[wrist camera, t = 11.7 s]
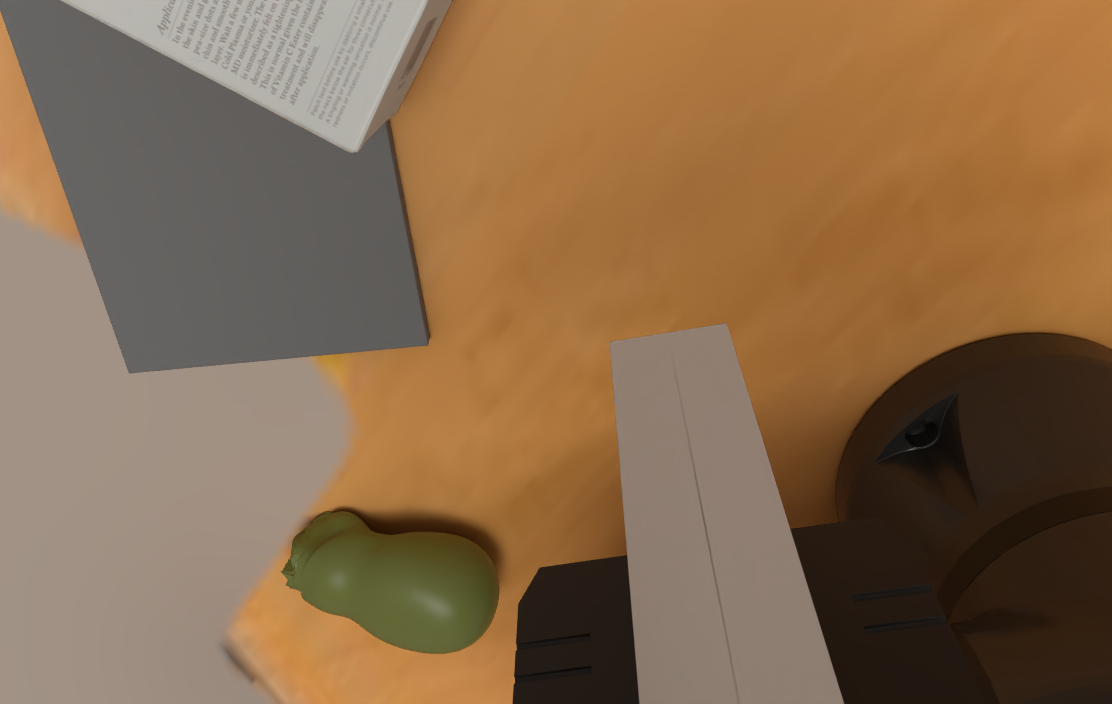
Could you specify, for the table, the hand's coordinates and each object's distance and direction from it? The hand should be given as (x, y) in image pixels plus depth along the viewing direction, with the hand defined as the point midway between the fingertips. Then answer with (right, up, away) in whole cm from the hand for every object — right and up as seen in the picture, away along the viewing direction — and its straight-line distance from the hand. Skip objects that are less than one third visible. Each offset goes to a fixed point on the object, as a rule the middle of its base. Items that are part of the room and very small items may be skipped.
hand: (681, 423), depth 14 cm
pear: (-9, -9, +37) cm, 39 cm away
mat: (-14, +8, +27) cm, 32 cm away
